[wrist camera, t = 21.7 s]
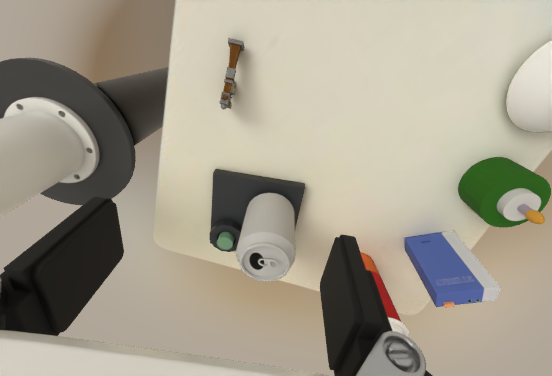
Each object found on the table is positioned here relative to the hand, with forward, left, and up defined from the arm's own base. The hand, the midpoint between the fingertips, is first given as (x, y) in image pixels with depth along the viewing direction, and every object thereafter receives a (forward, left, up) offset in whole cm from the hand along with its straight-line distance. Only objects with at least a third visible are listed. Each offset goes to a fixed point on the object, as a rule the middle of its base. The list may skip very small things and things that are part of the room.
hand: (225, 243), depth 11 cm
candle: (+34, -6, -28) cm, 45 cm away
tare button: (-4, -22, -26) cm, 34 cm away
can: (+2, -16, -27) cm, 32 cm away
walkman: (+30, -18, -28) cm, 45 cm away
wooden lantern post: (-5, +3, -28) cm, 29 cm away
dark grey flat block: (0, -18, -28) cm, 34 cm away
